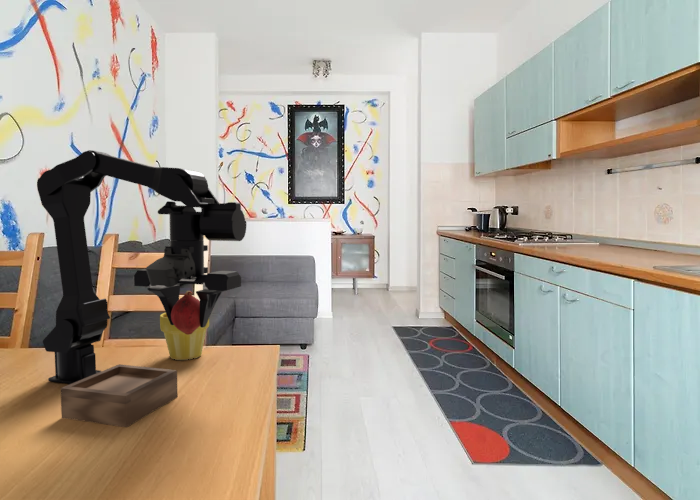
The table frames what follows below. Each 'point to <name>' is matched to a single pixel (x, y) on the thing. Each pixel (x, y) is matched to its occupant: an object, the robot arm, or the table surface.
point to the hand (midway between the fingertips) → (188, 325)
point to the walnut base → (119, 395)
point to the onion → (186, 313)
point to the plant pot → (182, 340)
